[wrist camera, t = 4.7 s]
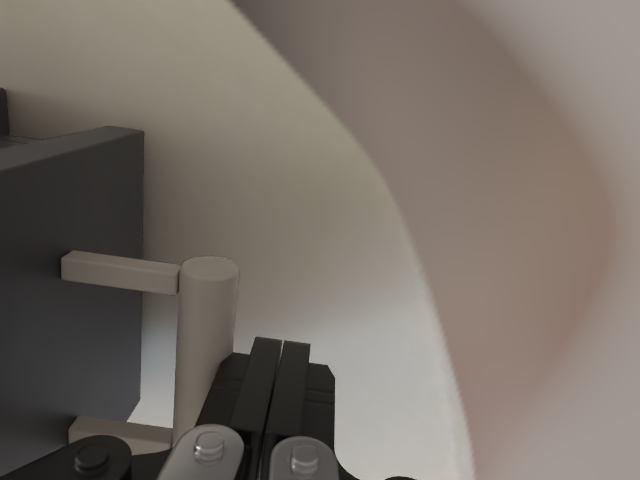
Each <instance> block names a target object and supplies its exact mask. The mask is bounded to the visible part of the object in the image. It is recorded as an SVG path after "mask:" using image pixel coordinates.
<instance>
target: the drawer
mask: <svg viewBox="0 0 640 480" xmlns="http://www.w3.org/2000/svg"><path fill="white" fill-rule="evenodd" d="M143 174H144V131H142V130H135V129H128V128H121V127H114V126H106V127H101V128H97V129H92V130H87V131H83V132H78V133H74V134H69V135H64V136H60V137H55V138H51V139H46V140H38V139H31V138H24V137H17V136H10V135H3V134H0V477H1V476H3V475H5V474H7V473H9V472H11V471H13V470H16V469H18V468H20V467H22V466H24V465H26V464H28V463H30V462H32V461H35V460H37V459H39V458H41V457H43V456H45V455H47V454H49V453H51V452H54V451H56V450H58V449H60V448H62V447H64V446H66V445H68V444H70V443H73V442H75V441H77V440H79V439H82V438H85V437H89V436H94V435H110V436H115V437H118V438H120V439H122V440H124V441H125V442H126V443H127V444H128V445H129V447H130V449H131V451H132V455H139V454H147V453H155V452H160V451H164V450H167V449H170V448H172V447H174V445H175V444H176V442H177V440H178V439H179V437H180V436H181V435H182V434H184V433H185V432H186V431H188V430H190V429H191V428H194V426H195V424H196V421H197V419H198V416H199V414H200V411H201V409H202V407H203V404H204V402H205V399H206V397H207V394H208V392H209V390H210V389H211V385H212V382H213V380H214V378H215V375H216V373H217V370H218V368H219V365H220V363H221V362H222V361H223V360H224V359H225V358H227V357H228V356H229V355H230V354H232V352H233V341H234V329H235V317H236V306H237V294H238V283H239V268H238V266H237V264H236V263H234V262H233V261H230V260H228V259H225V258H221V257H214V256H200V257H194V258H190V259H188V260H186V261H184V262H183V263H182V265H175V264H168V263H161V262H154V261H147V260H142V244H143ZM142 291H146V292H153V293H160V294H167V295H176V294H177V293H178V292H179V300H178V323H177V347H176V371H175V395H174V418H173V429H172V428H165V427H158V426H151V425H144V424H136V423H129V422H126V421H127V420H128V418H129V417H130V415H131V413H132V412H133V410H134V409H135V407H136V405H137V404H138V402H139V400H140V383H141V314H142Z"/></svg>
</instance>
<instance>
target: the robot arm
mask: <svg viewBox="0 0 640 480" xmlns="http://www.w3.org/2000/svg"><path fill="white" fill-rule="evenodd" d="M281 348H282V340H278V339H270V338H263V337H255V340H254V343H253V346H252V349H251V352H250V355H249V354H242V353H235V352H233V353H232V354H230V355H229V356H228V357H227V358H225V359H224V360H223V361H222V362H221V363H220V365H219V368H218V370H217V373H216V375H215V378H214V380H213V382H212V385H211V389H210V390H209V392H208V394H207V397H206V399H205V402H204V404H203V407H202V409H201V411H200V414H199V416H198V419H197V421H196V424H195V426H194V428H191V429H190V430H188V431H186V432H185V433H184V434H182V435H181V436H180V437H179V439H178V440H177V442H176V444H175V445H174V447H172V448H170V449H167V450H164V451H160V452H155V453H147V454H139V455H132V451H131V449H130V447H129V445H128V444H127V443H126V442H125V441H124V440H122V439H120V438H118V437H115V436H110V435H94V436H89V437H85V438H82V439H79V440H77V441H75V442H73V443H70V444H68V445H66V446H64V447H62V448H60V449H58V450H56V451H54V452H51V453H49V454H47V455H45V456H43V457H41V458H39V459H37V460H35V461H32V462H30V463H28V464H26V465H24V466H22V467H20V468H18V469H16V470H13V471H11V472H9V473H7V474H5V475H3V476H1V477H0V480H359V479H357V478H355V477H354V476H352V475H351V474H349V473H348V472H347V471H346V470H345V469H344V468H343V467H342V466H341V465H340V463H339V462H338V460H337V458H336V455H335V451H334V421H335V405H334V404H335V377H334V375H333V374H332V372H331V370H330V369H329V367H328V365H322V364H315V363H309V354H310V344H307V343H300V342H293V341H286V340H284V344H283V349H282V354H281ZM280 356H281V359H280ZM385 480H415V479H412V478H409V477H402V476H397V477H390V478H387V479H385Z"/></svg>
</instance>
